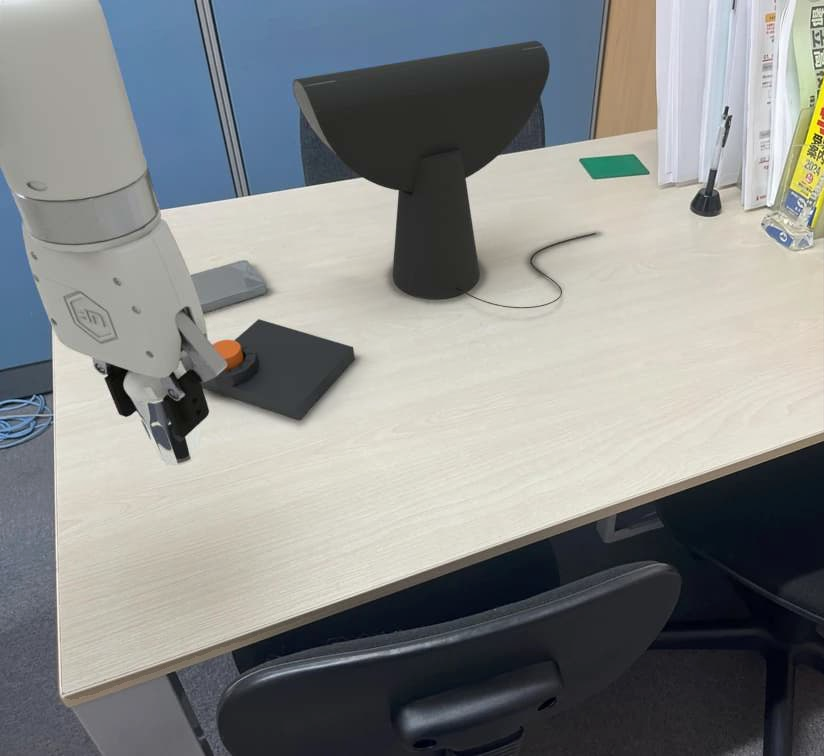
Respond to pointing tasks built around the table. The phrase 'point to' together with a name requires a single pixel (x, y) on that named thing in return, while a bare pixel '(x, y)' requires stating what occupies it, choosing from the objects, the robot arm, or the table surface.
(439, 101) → the table lamp
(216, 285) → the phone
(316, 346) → the dark grey flat block
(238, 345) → the button
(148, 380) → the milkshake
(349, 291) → the table surface
